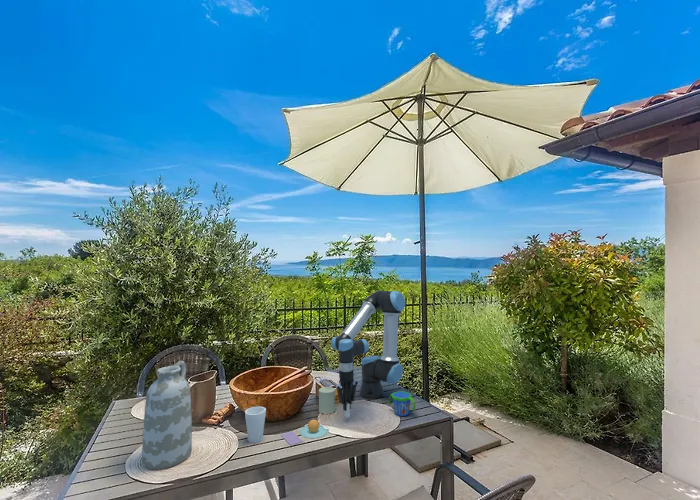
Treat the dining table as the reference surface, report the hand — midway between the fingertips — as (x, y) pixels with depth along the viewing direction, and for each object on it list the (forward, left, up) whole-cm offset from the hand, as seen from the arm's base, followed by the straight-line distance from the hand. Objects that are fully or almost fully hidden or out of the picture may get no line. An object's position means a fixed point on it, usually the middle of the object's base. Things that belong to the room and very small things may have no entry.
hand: (347, 416), depth 176 cm
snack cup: (-29, +10, -3) cm, 31 cm away
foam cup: (+45, -9, -3) cm, 46 cm away
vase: (+80, -16, -3) cm, 82 cm away
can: (+2, -17, -3) cm, 17 cm away
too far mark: (+31, 0, -2) cm, 31 cm away
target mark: (+19, 0, -2) cm, 19 cm away
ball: (+20, 0, 0) cm, 20 cm away
